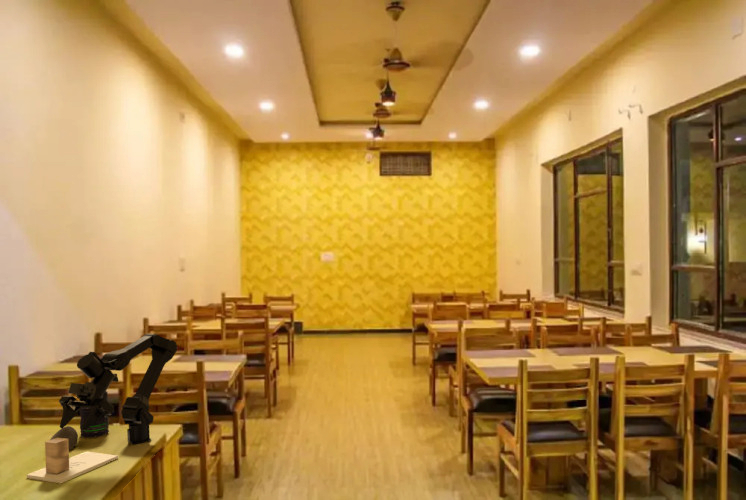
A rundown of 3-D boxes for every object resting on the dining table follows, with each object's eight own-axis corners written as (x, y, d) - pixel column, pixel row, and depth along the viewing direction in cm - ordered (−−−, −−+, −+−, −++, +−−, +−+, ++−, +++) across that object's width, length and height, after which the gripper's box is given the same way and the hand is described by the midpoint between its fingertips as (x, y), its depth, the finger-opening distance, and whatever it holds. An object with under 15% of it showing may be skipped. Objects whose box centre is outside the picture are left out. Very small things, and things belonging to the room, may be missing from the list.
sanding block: (58, 468, 191) (57, 437, 191) (69, 469, 189) (68, 438, 189) (46, 473, 187) (44, 441, 187) (56, 474, 185) (55, 443, 185)
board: (86, 454, 206) (86, 451, 206) (118, 458, 201) (118, 455, 201) (26, 477, 186) (26, 474, 186) (60, 483, 180) (60, 479, 180)
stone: (53, 464, 208) (75, 442, 209) (37, 446, 210) (59, 424, 210) (69, 458, 218) (89, 438, 219) (53, 441, 219) (74, 420, 220)
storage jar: (114, 432, 231) (112, 392, 230) (88, 439, 223) (87, 398, 223) (100, 428, 237) (99, 389, 237) (75, 435, 229) (73, 394, 229)
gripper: (62, 370, 201) (33, 413, 191) (105, 373, 194) (78, 417, 184) (83, 389, 209) (56, 431, 198) (125, 393, 201) (99, 436, 191)
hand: (71, 428), depth 193 cm, fingers open, 9 cm apart
